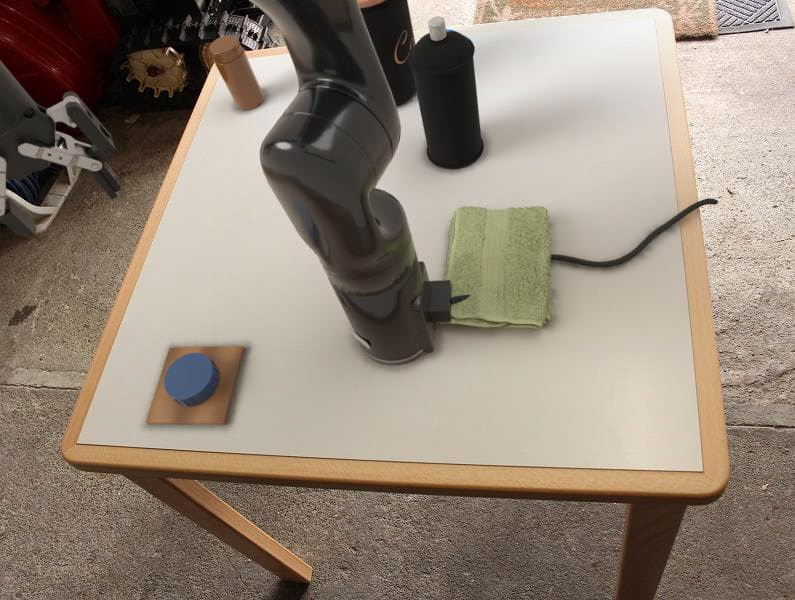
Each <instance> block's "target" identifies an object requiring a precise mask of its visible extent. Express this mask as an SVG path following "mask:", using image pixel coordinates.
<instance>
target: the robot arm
mask: <svg viewBox="0 0 795 600" xmlns="http://www.w3.org/2000/svg"><path fill="white" fill-rule="evenodd" d="M248 1H249V3H251V4H253V5H254V6H255V7H256V8H258V9H259V10H261V11H262V12H263V13H264V14H265V15H266V16H267V17H268V18H269V19H270V20H271V22H272V23H273V24H274V25H275V27H276V28H277V31H278V33H279V34H280V36H281V38H282V40H283V42H284V45H285V46H286V49H287V51H288V54H289V56H290V59H291V62H292V65H293V66H294V70H295V74H296V77H297V82H298V92H297V94H296V96H295V97H294V98H293V100H292V101H291V102H290V104H289V105H288V106H287V107H286V109H285V110H284V111H283V113H282V114H281V116H279V118H278V119H277V120H276V122H275V123H274V125H273V126H272V128H271V129H270V130H269V131H268V133H267V134H266V135H265V136H264V139H263V140H262V142H261V145H260V148H259V163H260V166H261V167H260V168H261V170H262V172H263V175H264V177H265V180H266V182H267V184H268V186H269V188H270V189H271V191H272V193H273V194H274V196H275V198H276V200H277V201H278V203H279V204H280V206H281V207H282V209H283V211H284V212H285V214H286V216H287V217H288V219H289V221H290V222H291V224H292V226H293V227H294V229H295V231H296V233H297V235H299V237H300V238H301V240H302V241H303V242H304V243H305V244H306V246H307V247H308V248H310V250H311V251H312V252H313V253H314V254H316V256H317V258H318V260H319V262H320V264H321V266H322V268H323V270H324V273H325V275H326V277H327V279H328V281H329V283H330V285H331V287H332V289H333V291H334V293H335V295H336V298H337V299H338V301H339V304H340V306H341V308H342V309H343V312H344V314H345V316H346V317H347V321H348V322H349V324H350V326H351V328H352V330H350V332H351V334H352V337H353V338H355V339H356V340H357V342H358V345H359V346H360V348H361V350H362V352H363V354H364V355H366V356H367V358H369V359H370V360H372V361H374V362H377V363H379V364H382V365H387V366H398V365H399V366H400V365H404V364H407V363H410V362H412V361H414V360H416V359H418V358H419V357H421V356H422V355H423V354H425V353H426V354H427V353H433V352H434V351H435V335H436V330H437V324H436V323H440V322H451V304H453V303H457V302H461V301H463V300H466V299H467V298H468V297H469V296H470V295H461V296H457V297H452V298H451V292H452V286H451V282H450V280H445V279H441V280H430V278H429V275H428V270H427V267H426V263H425V262H424V261H423V260H422V261H421V260H420V261H419V257H418V255H417V251H416V247H415V244H414V240H413V239H414V238H413V235H412V231H411V229H410V225H409V220H408V217H407V214H406V211H405V209H404V207H403V205H402V203H401V202H400V201H399V200H398V198H397V197H396V196H394V195H393V194H391V192H387V191H385V190H383V189H381V188H377V186H378V183H379V182H380V180H381V178H382V177H383V175H384V174H385V172H386V171H387V169H388V167H389V166H390V164H391V162H392V160H393V159H394V157H395V154H396V153H397V150H398V147H399V144H400V141H401V135H402V127H401V126H402V125H401V118H400V115H399V111H398V106H396V103H395V100H394V97H393V95H392V92H391V89H390V87H389V84H388V81H387V79H386V76H385V74H384V71H383V69H382V66H381V63H380V61H379V58H378V56H377V53H376V50H375V48H374V45H373V43H372V40H371V38H370V35H369V32H368V30H367V27H366V24H365V21H364V19H363V16H362V13H361V10H360V7H359V4H358V0H248ZM56 123H63V124H66V125H67V126H68V127H69V128H70V127H71V128H73V129H74V128H77V127H78V129H79V130H80V131H81V132H82V134H84V135H85V137H86V138H87V139H88V140H89V141H90V142H91V143H92V145H91V144H89V143H86V142H82V141H79V140H78V139H77V140H76V139H75V138H74V137H73V136H71V135H70V134H66V133H64V132H61V131H57V127H56V125H57V124H56ZM117 153H118V152H117V148H116V147H115V144H114V139H113V136H112V134H111V133H110V132H109V130H108V129H106V127H105V126H104V124H103V123H102V122H101V121H100V120H99V119H98V118H97V117H96V115H95V114H94V113H93V111H91V110H90V108H89V107H88V105H86V103H85V102H84V101H83V100H82V99H81V98H80V96H79V95H78V94H77V93H76V92H74V91H66V92H64V93H63V96H62V101H60V102H58V103H56V104H54V105H52V106H50V107H48V108H46V107H43V106H42V105H40V104H38V103H37V102H35V100H34V99H33V98H32V97H31V96H30V94H29V93H28V92H27V91H26V90H25V88H24V87H23V86H22V85H21V83H20V81H18V80H17V78H15V77H14V75H13V74H12V72H11V71H10V70H9V69H8V68H7V66H5V64H4V63H3V62H2V60H0V221H1V222H2V223H3V224H4V225H5V226H6V227H7V228H8V229H10V230H11V231H12V232H13V233H14V234H15V235H18V236H20V237H23V236H25V237H26V238H27V239H32V238H34V237H36V236H38V232H37V225H36V223H35V221H34V220H33V219H32V218H31V217H30V216H29V215H28V214H27V213H26V212H25V211H24V210H23V209H21V207H19V206H18V204H17V203H16V202H15V201H14V200H12V199H11V198H10V197H7V198H6V195H7V180H8V181H11V180H13V181H14V180H15V181H16V182H19V181H21V180H23V179H25V178H27V177H28V176H29V175H31V174H32V173H35V172H40V171H44V170H45V169H48V168H49V167H51V163H54V164H57V165H61V166H63V167H68V168H71V167H73V166H75V167H78V168H81V169H85V170H88V171H90V175H91V176H92V178H93V179H94V180H95V181H96V182H97V184H98V185H99V186H100V187H101V189H102V190H103V191H104V193H106V195H107V196H108V197H109V198H110V199H111V200H112V201H114V200H115V199H118V198H120V193H119V192H120V191H121V190H122V188H121V184H120V182H119V181H120V180H119V178H118V176H117V174H116V173H115V171H113V169H112V168H111V167H110V166H109V165H108V163H107V160H108V159H112V158H115V157H116V155H117ZM717 204H719V200H717V199H716V198H712V197H708V198H704V199H701V200H698V201H696V202H694V203H692V204H690V205H689V206H687V207H686V208H684V209H683V210H682V211H680V212H679V213H677V214H676V215H675V216H673V217H672V218H670V219H669V220H667V221H666V222H664V223H663V224H661V225H660V226H659V227H657V228H656V229H654V230H653V231H652V232H650V234H648V235H647V236H646V237H645V238H644V239H643V240H642V241H641V242H639V244H638V245H637V246H636V247H635V248H634V249H632V250H631V251H630V252H628V253H627V254H625V255H623V256H621V257H618V258H616V259H612V260H607V261H594V260H588V259H583V258H578V257H574V256H569V255H565V254H564V255H563V254H555V253H553V254H552V253H551V258H550V259H551V261H559V262H560V261H561V262H567V263H571V264H574V265H579V266H584V267H590V268H598V269H599V268H600V269H601V268H610V267H615V266H619V265H622V264H624V263H626V262H628V261H630V260H633V258H635V257H636V256H638V254H640V253H641V252H642V251H643V250H644V249H645V248H646V247H647V246H648V245H649V244H650V243H651V242H652V241H653V240H654V239H655V238H657V237H658V236H659V235H660V234H662V233H664V232H665V231H666V230H668V229H669V228H671V227H672V226H674V225H675V224H677V223H678V222H680V221H681V220H682V219H684V218H685V217H686V216H688V215H690V214H691V213H692V212H694V211H696V210H697V209H700V208H701V207H704V206H707V205H712V206H714V205H715V206H716V205H717Z"/></svg>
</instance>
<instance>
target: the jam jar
mask: <svg viewBox="0 0 795 600" xmlns="http://www.w3.org/2000/svg"><path fill="white" fill-rule="evenodd" d="M208 50H209V52H210V54H211V55H212V57H213V59H212V60H213V62H214V64H215V66H216V68H217V70H218V72H219V75H220V76H221V78H222V80H223V82H224V84H225V86H226V89H227V90H228V93H229V94H230V96H231V98H232V100H233V103H235V106H236V108H237V109H238V110H240V111H244V112H245V111H246V112H247V111H252V110H253V109H256V108H258V107H259V106H260V105H261V104H263V102H264V100H265V94H264V92H263V90H262V87H261V85H260V83H259V81H258V79H257V76H256V74H255V72H254V69H253V67H252V65H251V63H250V61H249V58H248V56H247V54H246V51H245V50H244V47H243V46H242V45H241V42H240V40H239V39H238V37H236V36H235V35H231V34H227V35H223V36H219V37H218V38H216V39H215V40H213V41H212V42H211V43H210V45H209V48H208Z"/></svg>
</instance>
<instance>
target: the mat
mask: <svg viewBox="0 0 795 600" xmlns="http://www.w3.org/2000/svg"><path fill="white" fill-rule="evenodd" d="M245 349H246V348H245V347H244V346H243V345H235V346H234V345H232V346H231V345H227V346H226V345H225V346H183V347H181V346H179V347H178V346H177V347H169V348H168V352H167V355H166V357H165V361H164V364H163V366H162V370H161V373H160V376H159V379H158V382H157V385H156V388H155V392H154V395H153V397H152V400H151V403H150V407H149V410H148V413H147V416H146V419H145V424H147V425H199V426H201V425H202V426H203V425H207V426H209V425H213V426H214V425H215V426H222V425H223V426H226V425H227V422H228V418H229V414H230V409H231V405H232V401H233V397H234V394H235V389H236V385H237V382H238V377H239V374H240V370H241V365H242V362H243V357H244V353H245ZM190 353H201V354H203V355H205V356H207V357H208V358H209V359H210V360H212V361H213V362H214V363H215V365H216V367H217V368H218V370H219V373H220V380H219V384H218V387H217V389H216V391H215V392H214V393H213V395H212V396H211V397H210V398H209V399H207V400H206V401H204V402H203V403H201V404H199V405H195V406H189V407H188V406H184V405H180V404H179V403H177V402H176V401H175V400H174V399H173V398H171V397H170V396H169V395H168V393H167V392H166V390H165V387H164V378H165V374H166V372H167V370H168V368H169V367H170V366H171V365H172V363H173V362H175V361H176V360H177V359H178V358H180V357H182V356H184V355H186V354H190Z"/></svg>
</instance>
